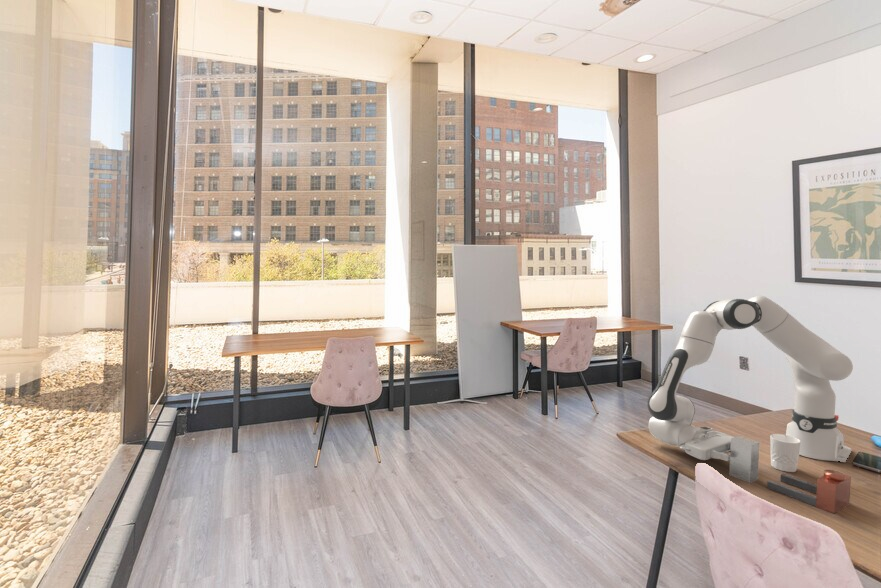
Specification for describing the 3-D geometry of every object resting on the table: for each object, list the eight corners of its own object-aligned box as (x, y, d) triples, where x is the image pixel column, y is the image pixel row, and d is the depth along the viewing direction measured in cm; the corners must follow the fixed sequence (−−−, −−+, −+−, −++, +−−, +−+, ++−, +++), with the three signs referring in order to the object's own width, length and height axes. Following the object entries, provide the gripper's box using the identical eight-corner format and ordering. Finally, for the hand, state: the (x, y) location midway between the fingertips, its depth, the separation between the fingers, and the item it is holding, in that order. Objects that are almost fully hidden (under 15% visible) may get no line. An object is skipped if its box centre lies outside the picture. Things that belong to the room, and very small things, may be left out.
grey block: (735, 471, 143) (736, 435, 142) (757, 479, 137) (759, 442, 137) (727, 474, 141) (729, 437, 140) (749, 483, 135) (751, 445, 134)
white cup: (762, 462, 149) (764, 434, 149) (784, 462, 150) (785, 433, 149) (782, 473, 141) (784, 443, 141) (805, 472, 142) (807, 442, 141)
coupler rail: (783, 479, 137) (784, 451, 137) (850, 504, 123) (852, 472, 123) (766, 487, 132) (768, 457, 132) (835, 514, 118) (837, 480, 118)
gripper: (676, 436, 147) (719, 452, 135) (711, 426, 157) (754, 439, 145) (675, 455, 148) (718, 471, 136) (710, 443, 158) (753, 457, 145)
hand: (737, 454), depth 140 cm, fingers open, 8 cm apart
